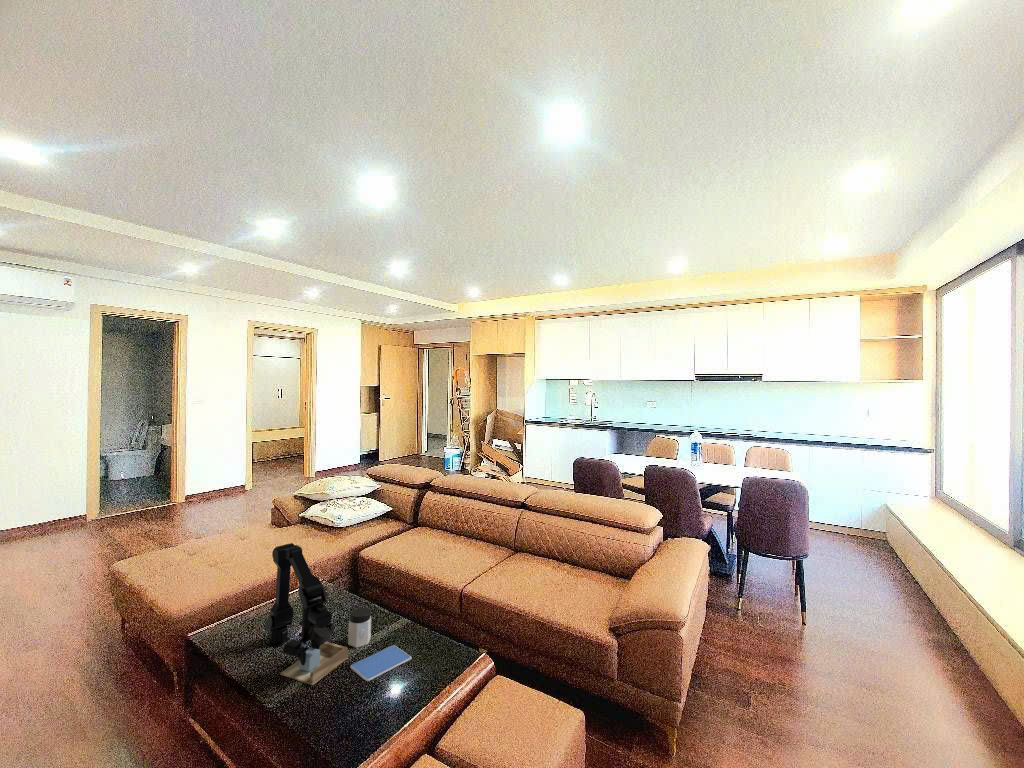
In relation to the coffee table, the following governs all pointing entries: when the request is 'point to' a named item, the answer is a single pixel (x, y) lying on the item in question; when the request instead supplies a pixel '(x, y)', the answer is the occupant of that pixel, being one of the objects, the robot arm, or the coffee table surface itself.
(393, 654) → the tablet computer
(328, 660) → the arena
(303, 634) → the robot arm
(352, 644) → the jar
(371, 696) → the coffee table surface
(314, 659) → the cube
